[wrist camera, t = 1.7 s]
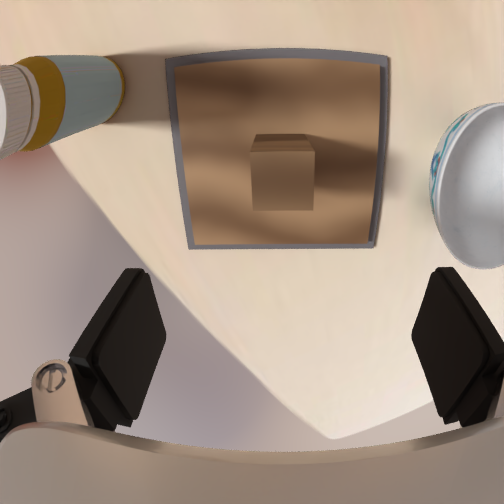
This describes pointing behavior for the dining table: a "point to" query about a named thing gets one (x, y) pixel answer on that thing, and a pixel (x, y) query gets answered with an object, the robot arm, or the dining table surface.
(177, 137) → the mat
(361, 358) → the dining table surface
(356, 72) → the cover
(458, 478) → the robot arm
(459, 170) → the chinaware
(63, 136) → the bottle
